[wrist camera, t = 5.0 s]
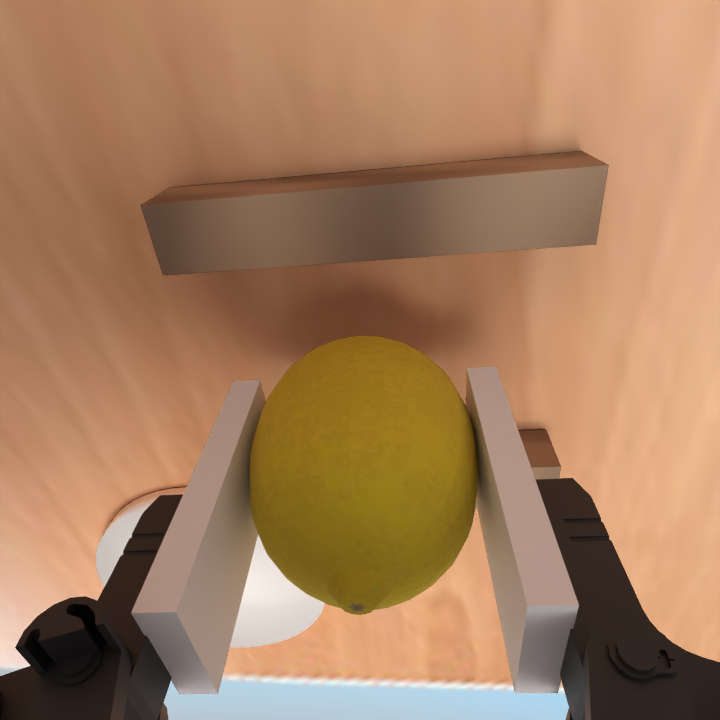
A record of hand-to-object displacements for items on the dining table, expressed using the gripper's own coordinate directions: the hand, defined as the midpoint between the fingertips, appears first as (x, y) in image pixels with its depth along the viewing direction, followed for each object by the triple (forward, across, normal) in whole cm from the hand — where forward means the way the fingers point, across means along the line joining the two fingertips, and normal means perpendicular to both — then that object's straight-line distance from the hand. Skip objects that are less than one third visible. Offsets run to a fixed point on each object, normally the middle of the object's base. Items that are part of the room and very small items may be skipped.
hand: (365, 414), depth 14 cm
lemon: (+3, 0, 0) cm, 3 cm away
